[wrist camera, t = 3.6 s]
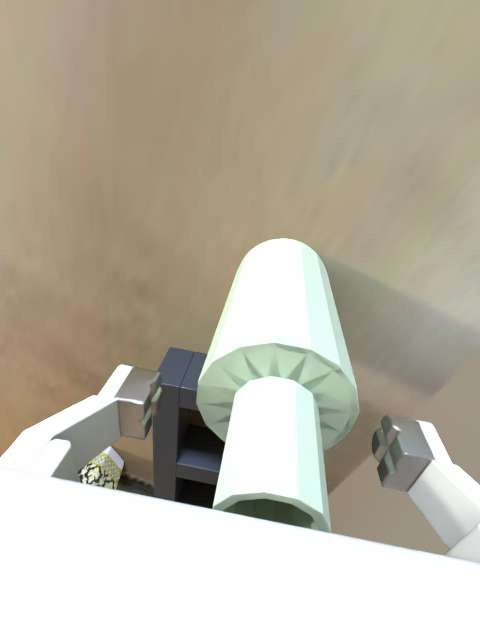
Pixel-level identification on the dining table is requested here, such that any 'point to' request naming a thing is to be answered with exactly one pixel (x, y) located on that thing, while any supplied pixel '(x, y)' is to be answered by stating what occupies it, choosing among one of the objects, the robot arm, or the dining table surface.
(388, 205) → the dining table surface
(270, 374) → the bottle
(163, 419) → the holder
